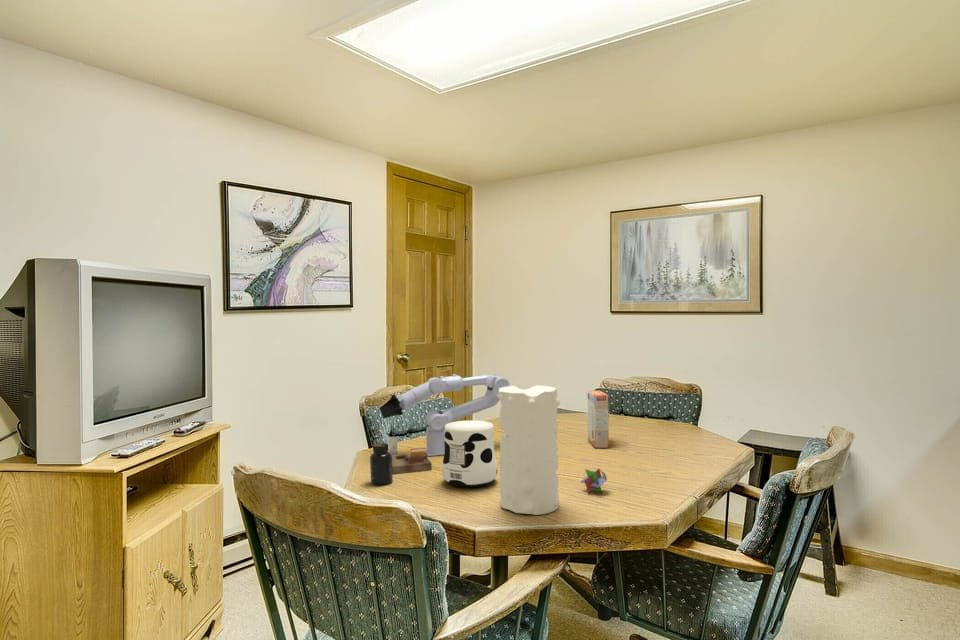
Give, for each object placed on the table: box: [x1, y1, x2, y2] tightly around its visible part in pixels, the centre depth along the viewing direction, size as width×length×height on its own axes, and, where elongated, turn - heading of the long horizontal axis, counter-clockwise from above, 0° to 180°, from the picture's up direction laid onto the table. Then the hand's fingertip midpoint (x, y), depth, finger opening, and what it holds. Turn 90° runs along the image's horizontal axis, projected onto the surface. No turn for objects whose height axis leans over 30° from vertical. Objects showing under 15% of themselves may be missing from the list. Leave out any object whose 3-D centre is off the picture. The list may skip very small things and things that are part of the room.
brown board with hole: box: [392, 452, 433, 475], centre depth 188 cm, size 14×16×4 cm
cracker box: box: [587, 390, 610, 449], centre depth 216 cm, size 14×6×21 cm, turn 179°
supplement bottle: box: [369, 442, 394, 487], centre depth 169 cm, size 7×7×12 cm
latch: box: [409, 447, 427, 460], centre depth 185 cm, size 5×6×1 cm
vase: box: [497, 384, 561, 516], centre depth 146 cm, size 17×16×32 cm
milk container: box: [441, 420, 498, 488], centre depth 168 cm, size 17×17×18 cm
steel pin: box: [388, 436, 398, 455], centre depth 202 cm, size 3×3×7 cm
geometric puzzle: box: [580, 468, 608, 494], centre depth 157 cm, size 7×7×8 cm
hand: (381, 413), depth 200 cm, fingers open, 7 cm apart
